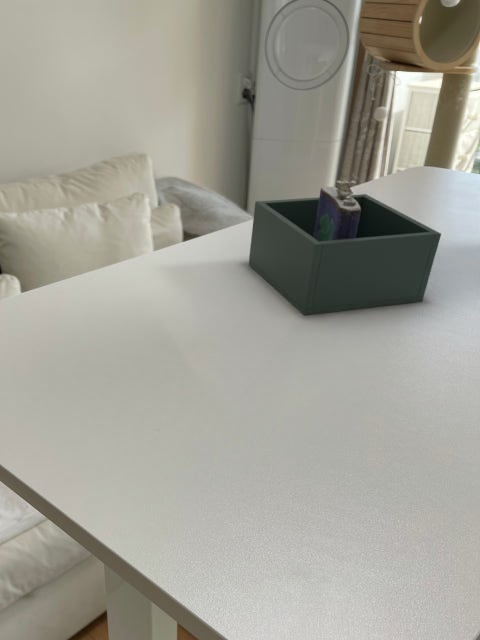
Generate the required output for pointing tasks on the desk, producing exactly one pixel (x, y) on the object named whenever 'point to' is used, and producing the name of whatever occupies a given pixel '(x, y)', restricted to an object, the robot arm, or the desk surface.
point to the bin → (341, 256)
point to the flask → (337, 213)
